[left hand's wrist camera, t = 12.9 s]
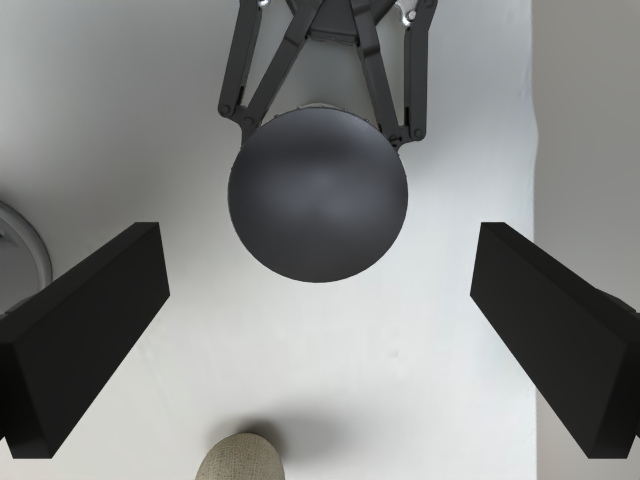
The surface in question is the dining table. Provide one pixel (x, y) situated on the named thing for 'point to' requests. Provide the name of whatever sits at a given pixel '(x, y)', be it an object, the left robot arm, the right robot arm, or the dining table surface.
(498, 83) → the dining table surface
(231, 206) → the lid
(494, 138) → the dining table surface
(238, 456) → the fruit
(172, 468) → the dining table surface
